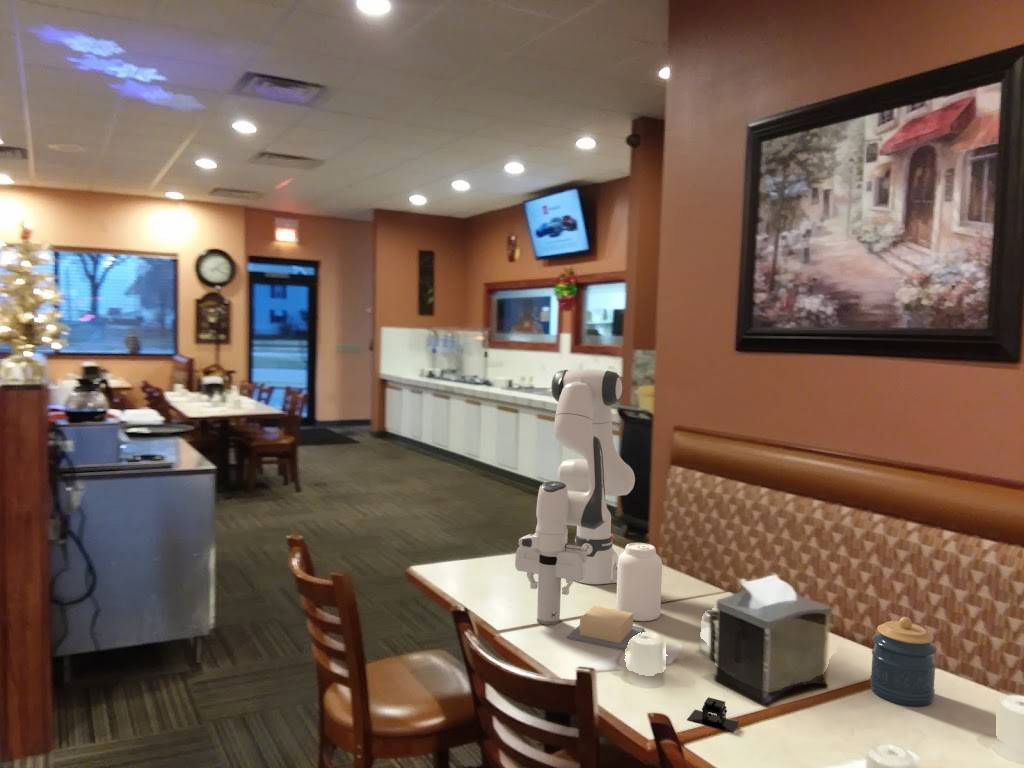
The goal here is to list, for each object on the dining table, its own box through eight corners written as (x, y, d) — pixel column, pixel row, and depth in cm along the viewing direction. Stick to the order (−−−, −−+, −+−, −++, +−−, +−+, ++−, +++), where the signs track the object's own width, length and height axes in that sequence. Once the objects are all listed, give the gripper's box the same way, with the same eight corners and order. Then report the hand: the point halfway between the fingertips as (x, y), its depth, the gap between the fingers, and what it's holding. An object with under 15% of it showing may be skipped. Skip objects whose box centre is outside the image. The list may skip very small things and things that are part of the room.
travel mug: (559, 626, 208) (561, 554, 207) (535, 624, 209) (537, 552, 208) (562, 618, 214) (564, 548, 213) (539, 616, 215) (541, 546, 214)
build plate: (679, 722, 158) (679, 700, 158) (689, 708, 164) (690, 687, 164) (740, 739, 152) (741, 716, 152) (748, 724, 158) (749, 702, 158)
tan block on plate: (588, 619, 214) (589, 601, 214) (644, 630, 207) (644, 611, 207) (567, 638, 200) (567, 619, 199) (626, 650, 193) (626, 631, 192)
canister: (860, 680, 180) (864, 606, 179) (916, 682, 179) (920, 608, 178) (885, 706, 167) (889, 627, 166) (945, 709, 166) (950, 629, 165)
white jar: (668, 614, 220) (671, 546, 218) (644, 625, 210) (647, 554, 209) (632, 603, 228) (634, 537, 227) (607, 613, 219) (609, 544, 218)
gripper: (591, 544, 209) (589, 594, 209) (523, 534, 218) (521, 582, 218) (582, 549, 203) (580, 600, 204) (513, 538, 212) (511, 588, 213)
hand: (549, 591), depth 211 cm, fingers open, 8 cm apart
